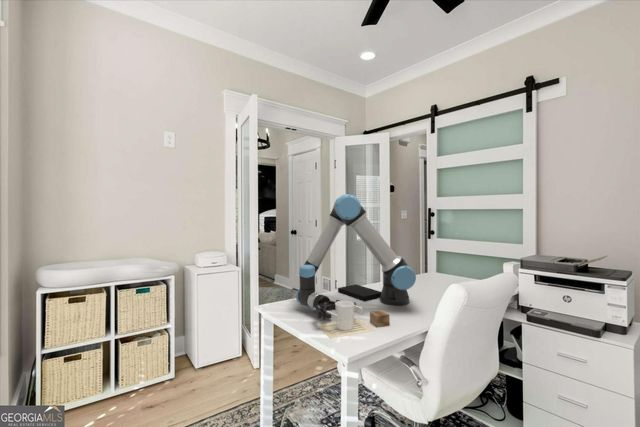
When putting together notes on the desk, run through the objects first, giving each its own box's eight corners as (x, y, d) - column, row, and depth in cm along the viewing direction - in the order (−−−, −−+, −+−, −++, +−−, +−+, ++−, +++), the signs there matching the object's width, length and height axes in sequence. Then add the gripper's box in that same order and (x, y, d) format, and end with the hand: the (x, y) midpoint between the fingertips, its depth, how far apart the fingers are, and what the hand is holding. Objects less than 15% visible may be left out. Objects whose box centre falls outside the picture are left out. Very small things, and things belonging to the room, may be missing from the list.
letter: (358, 318, 139) (358, 318, 139) (375, 330, 125) (375, 330, 125) (316, 325, 132) (316, 324, 132) (330, 339, 118) (330, 338, 118)
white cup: (335, 323, 133) (335, 300, 133) (353, 323, 133) (353, 300, 132) (335, 331, 125) (335, 306, 125) (355, 331, 125) (355, 306, 125)
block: (382, 321, 136) (382, 310, 136) (389, 326, 130) (389, 314, 130) (370, 323, 134) (369, 311, 134) (376, 328, 128) (376, 316, 128)
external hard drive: (356, 289, 192) (356, 284, 192) (383, 297, 172) (383, 292, 172) (338, 293, 184) (337, 287, 184) (364, 302, 164) (364, 296, 164)
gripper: (296, 299, 136) (325, 312, 119) (340, 289, 151) (371, 300, 133) (296, 316, 136) (325, 331, 119) (340, 305, 151) (372, 317, 134)
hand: (350, 315), depth 126 cm, fingers open, 13 cm apart
